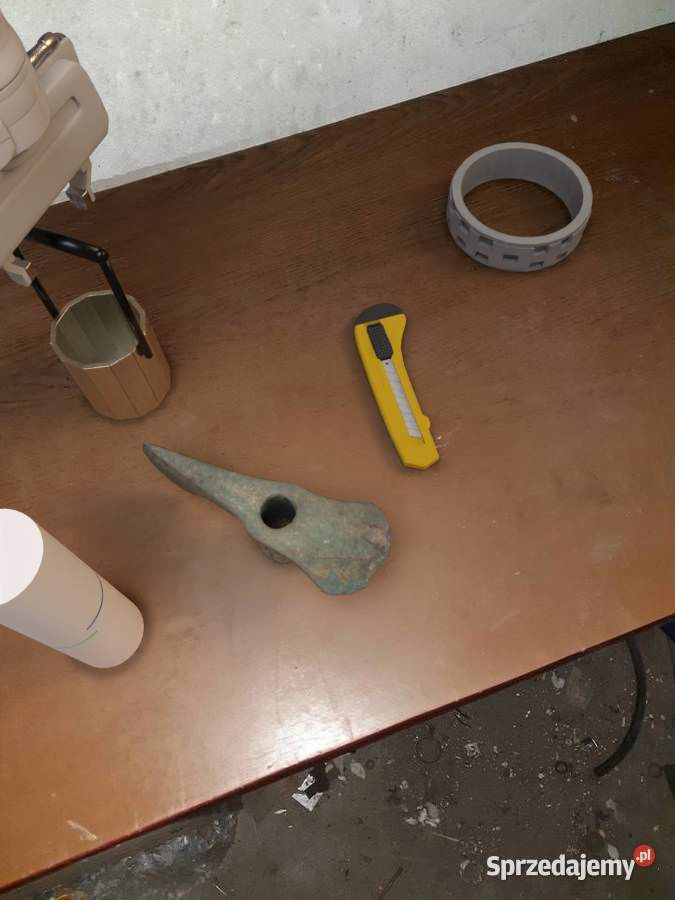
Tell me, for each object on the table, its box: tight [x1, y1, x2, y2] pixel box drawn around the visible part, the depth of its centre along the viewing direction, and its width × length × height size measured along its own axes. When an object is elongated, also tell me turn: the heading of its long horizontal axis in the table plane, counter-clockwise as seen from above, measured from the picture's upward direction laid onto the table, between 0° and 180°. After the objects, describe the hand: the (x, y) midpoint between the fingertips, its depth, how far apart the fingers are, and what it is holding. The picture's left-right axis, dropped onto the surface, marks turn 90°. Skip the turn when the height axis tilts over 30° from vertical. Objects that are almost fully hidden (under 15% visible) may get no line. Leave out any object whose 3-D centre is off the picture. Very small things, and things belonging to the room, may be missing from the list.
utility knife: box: [354, 302, 440, 471], centre depth 81 cm, size 7×22×2 cm, turn 16°
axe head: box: [142, 442, 392, 596], centre depth 69 cm, size 27×10×10 cm, turn 63°
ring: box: [445, 141, 594, 273], centre depth 90 cm, size 18×18×5 cm
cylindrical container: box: [0, 508, 145, 669], centre depth 59 cm, size 7×7×25 cm
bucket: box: [13, 224, 172, 421], centre depth 71 cm, size 25×12×10 cm
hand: (56, 240), depth 62 cm, fingers open, 8 cm apart
